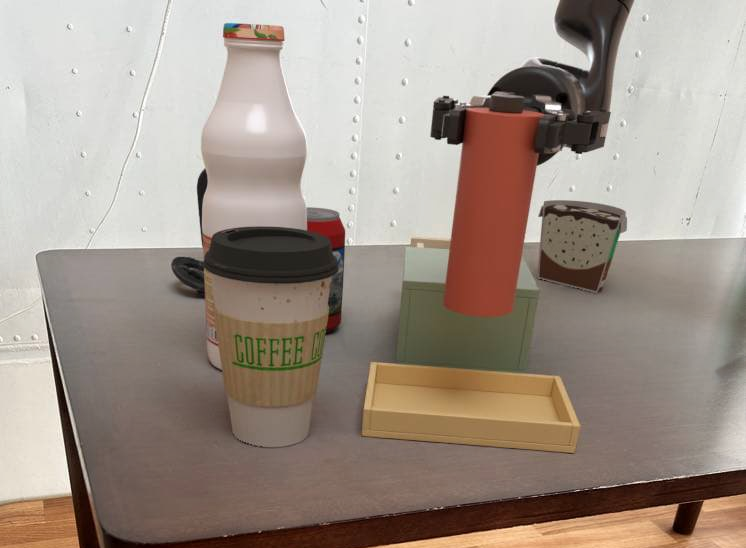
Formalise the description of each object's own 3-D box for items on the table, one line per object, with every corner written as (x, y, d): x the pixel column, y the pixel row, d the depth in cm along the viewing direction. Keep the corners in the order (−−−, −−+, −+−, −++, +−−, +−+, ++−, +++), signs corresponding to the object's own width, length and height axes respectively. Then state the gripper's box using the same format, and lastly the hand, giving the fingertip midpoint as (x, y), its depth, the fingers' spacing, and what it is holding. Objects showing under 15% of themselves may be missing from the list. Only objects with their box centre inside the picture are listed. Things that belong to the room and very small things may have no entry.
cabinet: (398, 324, 92) (405, 246, 88) (510, 333, 92) (523, 254, 87) (395, 369, 80) (403, 280, 76) (524, 379, 79) (539, 290, 75)
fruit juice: (187, 363, 79) (169, 19, 64) (245, 339, 86) (241, 23, 71) (267, 385, 75) (267, 24, 60) (321, 358, 82) (334, 29, 67)
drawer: (406, 283, 105) (411, 227, 101) (495, 289, 104) (504, 234, 101) (404, 326, 89) (410, 262, 86) (508, 334, 89) (519, 270, 85)
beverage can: (282, 337, 87) (284, 218, 80) (277, 318, 92) (277, 205, 86) (345, 337, 88) (351, 219, 81) (335, 318, 93) (340, 206, 87)
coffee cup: (289, 469, 61) (293, 261, 53) (184, 436, 65) (173, 239, 57) (352, 425, 68) (364, 237, 60) (254, 398, 72) (253, 219, 64)
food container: (629, 288, 112) (647, 211, 106) (607, 296, 108) (625, 216, 102) (550, 270, 119) (564, 196, 113) (527, 276, 115) (540, 200, 109)
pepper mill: (509, 299, 68) (542, 95, 60) (515, 319, 63) (552, 101, 55) (442, 294, 68) (466, 90, 60) (443, 314, 64) (470, 96, 56)
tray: (555, 400, 75) (560, 376, 74) (574, 453, 66) (580, 425, 64) (369, 386, 76) (370, 361, 75) (361, 436, 66) (363, 408, 65)
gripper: (457, 59, 70) (403, 62, 57) (629, 71, 67) (615, 78, 53) (447, 154, 74) (393, 179, 61) (608, 171, 71) (590, 201, 57)
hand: (497, 132), depth 57 cm, fingers closed on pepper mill, 5 cm apart
